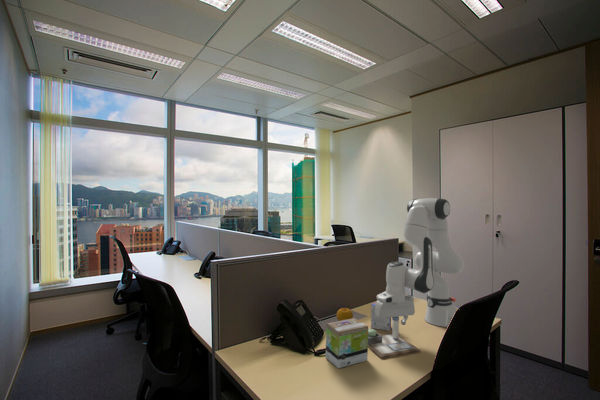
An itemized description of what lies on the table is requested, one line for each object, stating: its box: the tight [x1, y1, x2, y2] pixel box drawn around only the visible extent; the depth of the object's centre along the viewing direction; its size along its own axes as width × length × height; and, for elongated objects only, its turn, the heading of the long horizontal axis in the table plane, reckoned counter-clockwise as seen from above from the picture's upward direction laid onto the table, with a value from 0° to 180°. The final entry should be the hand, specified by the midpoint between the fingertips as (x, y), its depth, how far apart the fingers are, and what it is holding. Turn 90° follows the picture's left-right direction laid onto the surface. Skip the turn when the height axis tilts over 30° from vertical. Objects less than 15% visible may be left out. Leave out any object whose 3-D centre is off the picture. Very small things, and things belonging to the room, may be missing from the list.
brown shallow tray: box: [368, 331, 421, 360], centre depth 132 cm, size 20×18×4 cm
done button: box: [368, 328, 377, 337], centre depth 135 cm, size 4×4×3 cm
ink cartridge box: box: [370, 302, 392, 332], centre depth 152 cm, size 10×6×14 cm, turn 66°
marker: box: [391, 316, 400, 340], centre depth 137 cm, size 3×3×10 cm
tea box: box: [325, 317, 369, 369], centre depth 121 cm, size 15×10×15 cm
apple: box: [336, 307, 354, 321], centre depth 155 cm, size 9×9×9 cm
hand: (395, 325), depth 137 cm, fingers open, 8 cm apart
